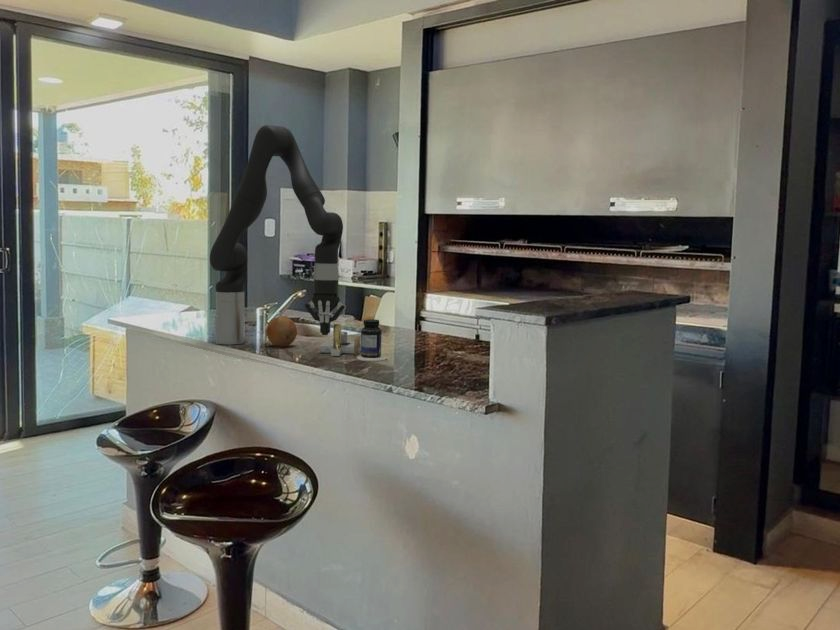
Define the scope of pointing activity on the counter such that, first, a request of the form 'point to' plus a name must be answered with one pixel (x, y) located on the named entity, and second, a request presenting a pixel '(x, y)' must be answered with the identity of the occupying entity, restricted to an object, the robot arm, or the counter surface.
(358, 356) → the coaster
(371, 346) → the pill bottle
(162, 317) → the counter surface
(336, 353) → the grey plate with post
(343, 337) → the post
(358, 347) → the dowel
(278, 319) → the onion
